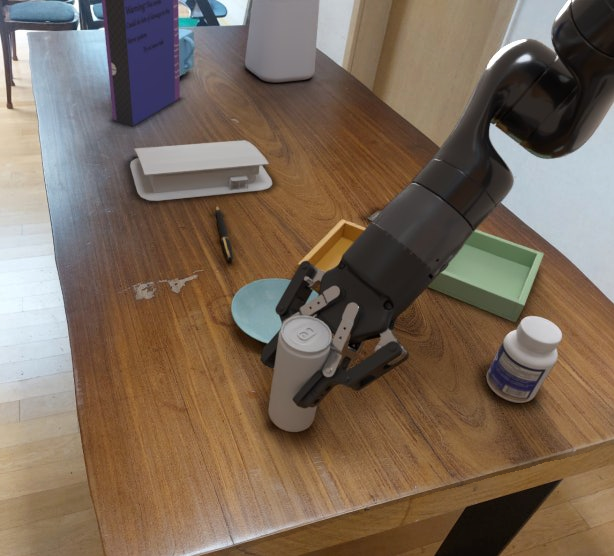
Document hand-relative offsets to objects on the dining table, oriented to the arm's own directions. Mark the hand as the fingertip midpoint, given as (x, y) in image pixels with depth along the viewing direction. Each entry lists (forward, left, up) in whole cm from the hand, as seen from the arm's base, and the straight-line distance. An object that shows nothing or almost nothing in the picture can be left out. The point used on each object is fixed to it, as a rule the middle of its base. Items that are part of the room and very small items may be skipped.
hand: (282, 383), depth 51 cm
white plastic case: (+37, -37, -6) cm, 53 cm away
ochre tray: (+3, -28, -6) cm, 29 cm away
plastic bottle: (+53, -91, -6) cm, 105 cm away
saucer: (+7, -13, -6) cm, 16 cm away
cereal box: (+62, -52, -6) cm, 81 cm away
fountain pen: (+23, -24, -6) cm, 34 cm away
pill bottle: (-19, -20, -6) cm, 28 cm away
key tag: (+5, -45, -6) cm, 45 cm away
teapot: (+73, -70, -6) cm, 101 cm away
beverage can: (-1, -2, -6) cm, 7 cm away
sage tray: (-11, -38, -6) cm, 40 cm away
